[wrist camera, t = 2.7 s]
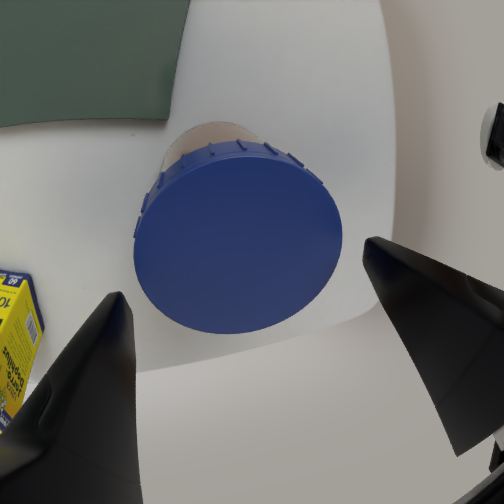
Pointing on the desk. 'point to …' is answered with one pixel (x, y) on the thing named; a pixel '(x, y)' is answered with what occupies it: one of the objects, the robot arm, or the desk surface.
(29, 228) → the desk surface
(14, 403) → the supplement box
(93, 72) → the board
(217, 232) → the lid
